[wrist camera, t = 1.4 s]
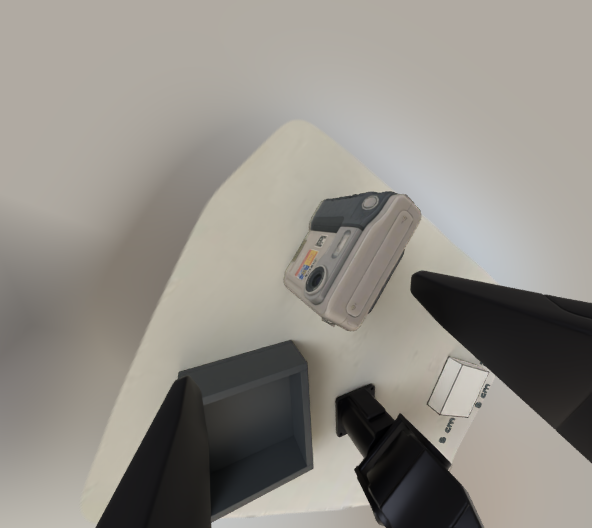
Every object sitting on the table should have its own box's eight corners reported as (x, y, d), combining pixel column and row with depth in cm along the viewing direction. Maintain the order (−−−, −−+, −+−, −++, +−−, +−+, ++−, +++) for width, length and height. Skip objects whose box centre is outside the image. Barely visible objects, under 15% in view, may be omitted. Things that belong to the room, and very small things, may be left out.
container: (461, 328, 40) (478, 336, 37) (491, 341, 44) (507, 348, 42) (414, 430, 40) (428, 444, 38) (449, 432, 45) (463, 444, 43)
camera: (325, 190, 24) (398, 174, 15) (358, 220, 27) (438, 222, 18) (269, 278, 24) (310, 316, 15) (308, 301, 26) (364, 345, 17)
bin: (298, 433, 30) (313, 468, 26) (201, 477, 25) (201, 528, 21) (290, 339, 26) (307, 362, 22) (178, 371, 22) (173, 407, 18)
